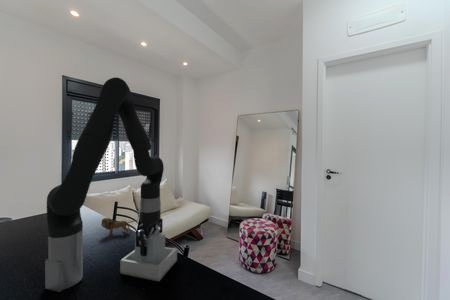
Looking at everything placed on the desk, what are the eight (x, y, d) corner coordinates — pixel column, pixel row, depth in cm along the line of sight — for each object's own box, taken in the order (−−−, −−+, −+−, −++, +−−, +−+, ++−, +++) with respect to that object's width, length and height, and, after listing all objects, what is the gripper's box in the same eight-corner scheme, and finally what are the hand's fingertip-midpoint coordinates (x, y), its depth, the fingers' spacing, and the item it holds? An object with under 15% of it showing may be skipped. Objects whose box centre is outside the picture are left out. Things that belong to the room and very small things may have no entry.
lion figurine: (100, 238, 102) (100, 220, 102) (102, 233, 107) (102, 216, 107) (132, 233, 107) (132, 217, 107) (132, 229, 112) (133, 213, 112)
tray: (159, 281, 71) (159, 267, 70) (120, 273, 75) (120, 260, 74) (176, 260, 83) (176, 248, 83) (142, 255, 87) (142, 243, 87)
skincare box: (165, 260, 79) (166, 233, 79) (152, 269, 73) (152, 240, 73) (147, 252, 84) (147, 227, 84) (133, 260, 79) (133, 233, 78)
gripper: (147, 215, 70) (147, 262, 71) (168, 204, 84) (168, 243, 85) (129, 213, 72) (128, 259, 73) (152, 202, 86) (152, 240, 87)
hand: (150, 250), depth 79 cm, fingers closed on skincare box, 7 cm apart
